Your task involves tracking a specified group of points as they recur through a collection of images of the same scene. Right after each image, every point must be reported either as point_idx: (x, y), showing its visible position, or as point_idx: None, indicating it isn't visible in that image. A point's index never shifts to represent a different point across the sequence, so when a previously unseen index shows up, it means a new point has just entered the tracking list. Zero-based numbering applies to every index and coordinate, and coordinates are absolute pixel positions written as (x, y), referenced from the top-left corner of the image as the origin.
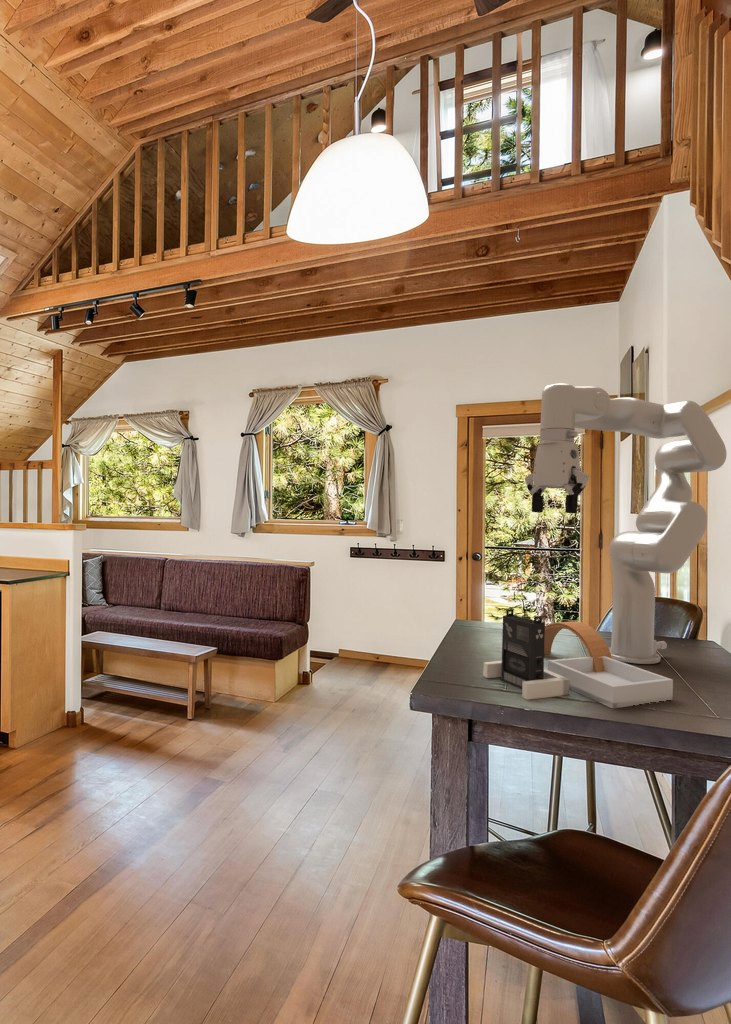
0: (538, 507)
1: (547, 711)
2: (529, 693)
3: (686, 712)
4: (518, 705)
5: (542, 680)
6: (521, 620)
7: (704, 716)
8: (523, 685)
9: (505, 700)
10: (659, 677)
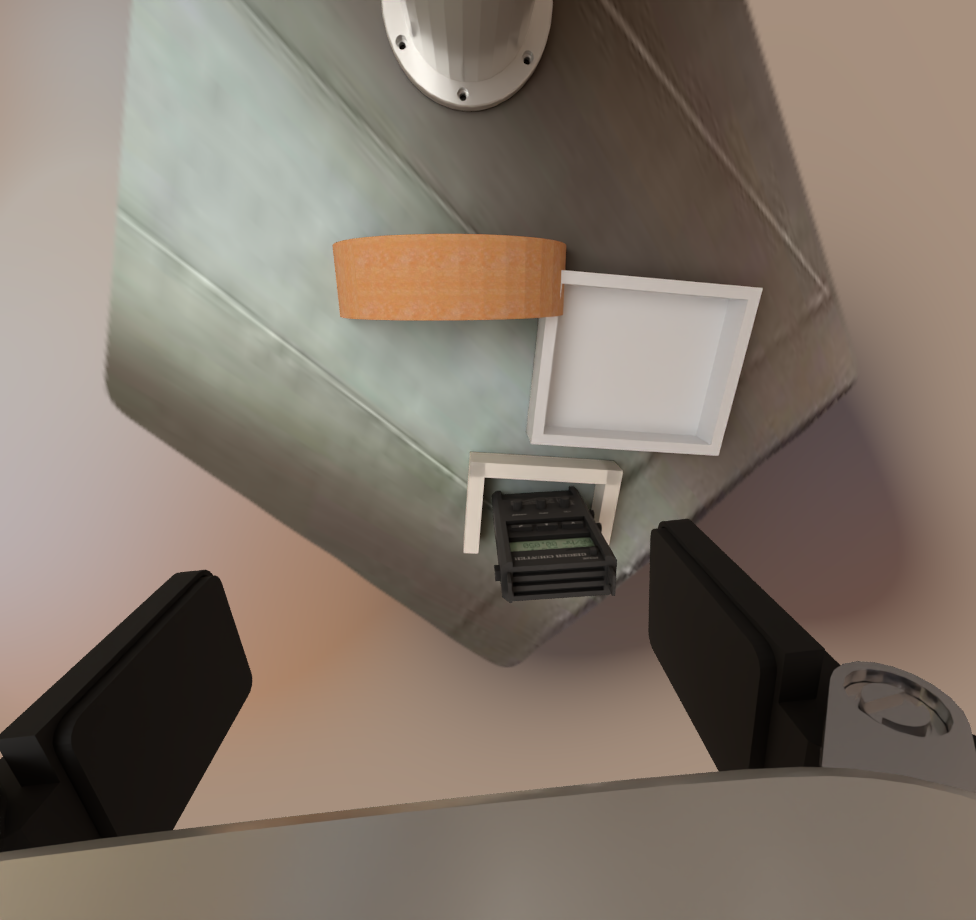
0: (210, 667)
1: None
2: None
3: (782, 327)
4: None
5: (604, 523)
6: (563, 587)
7: (811, 314)
8: None
9: None
10: (734, 298)
